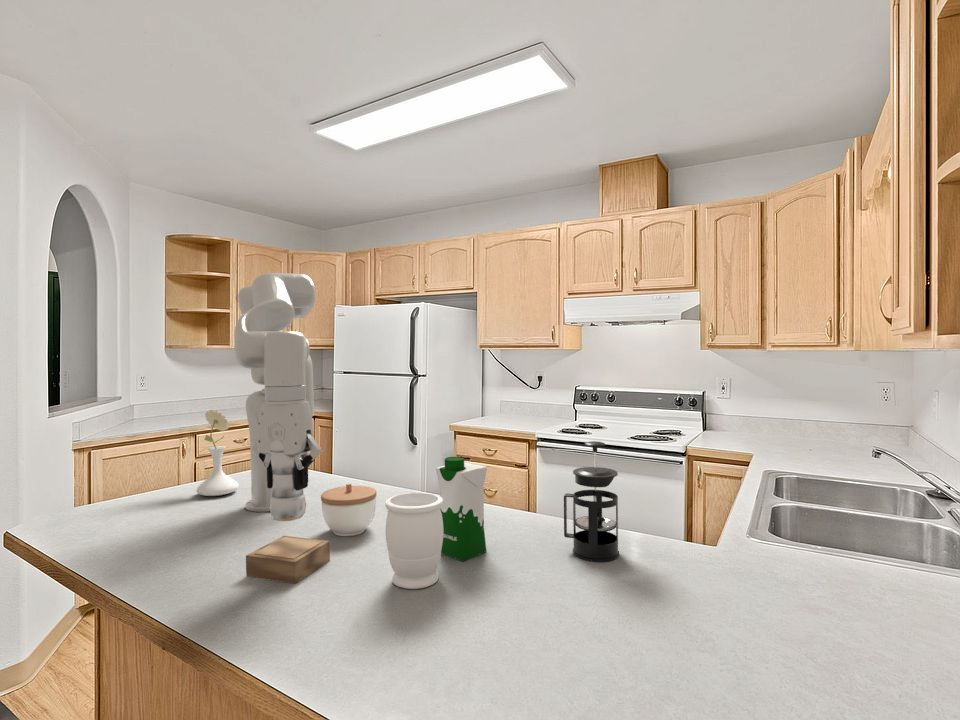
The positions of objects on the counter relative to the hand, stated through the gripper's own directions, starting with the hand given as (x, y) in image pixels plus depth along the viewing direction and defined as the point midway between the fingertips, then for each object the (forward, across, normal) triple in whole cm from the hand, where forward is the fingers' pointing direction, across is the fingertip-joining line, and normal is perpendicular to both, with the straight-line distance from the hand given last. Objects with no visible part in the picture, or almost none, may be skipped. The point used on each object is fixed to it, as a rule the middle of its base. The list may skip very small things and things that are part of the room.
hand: (287, 486), depth 105 cm
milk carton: (+16, +30, +17) cm, 38 cm away
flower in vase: (+16, -56, +40) cm, 71 cm away
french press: (+16, +56, +24) cm, 63 cm away
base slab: (+16, 0, 0) cm, 16 cm away
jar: (+16, +26, +2) cm, 31 cm away
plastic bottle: (+7, 0, 0) cm, 7 cm away
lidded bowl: (+16, 0, +22) cm, 27 cm away
